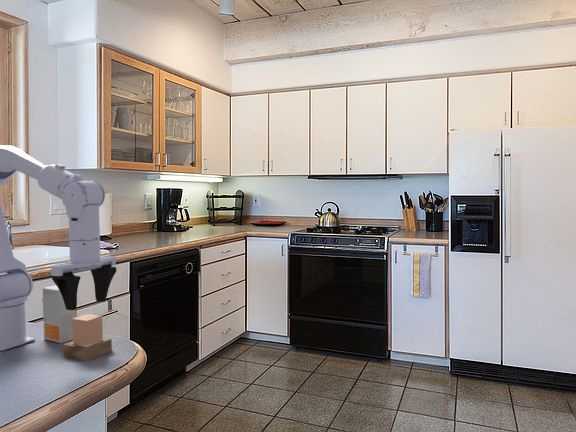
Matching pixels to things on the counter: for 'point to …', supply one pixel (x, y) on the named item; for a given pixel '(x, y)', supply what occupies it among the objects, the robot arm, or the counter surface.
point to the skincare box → (56, 316)
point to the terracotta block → (87, 329)
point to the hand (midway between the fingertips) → (86, 305)
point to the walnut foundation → (87, 349)
